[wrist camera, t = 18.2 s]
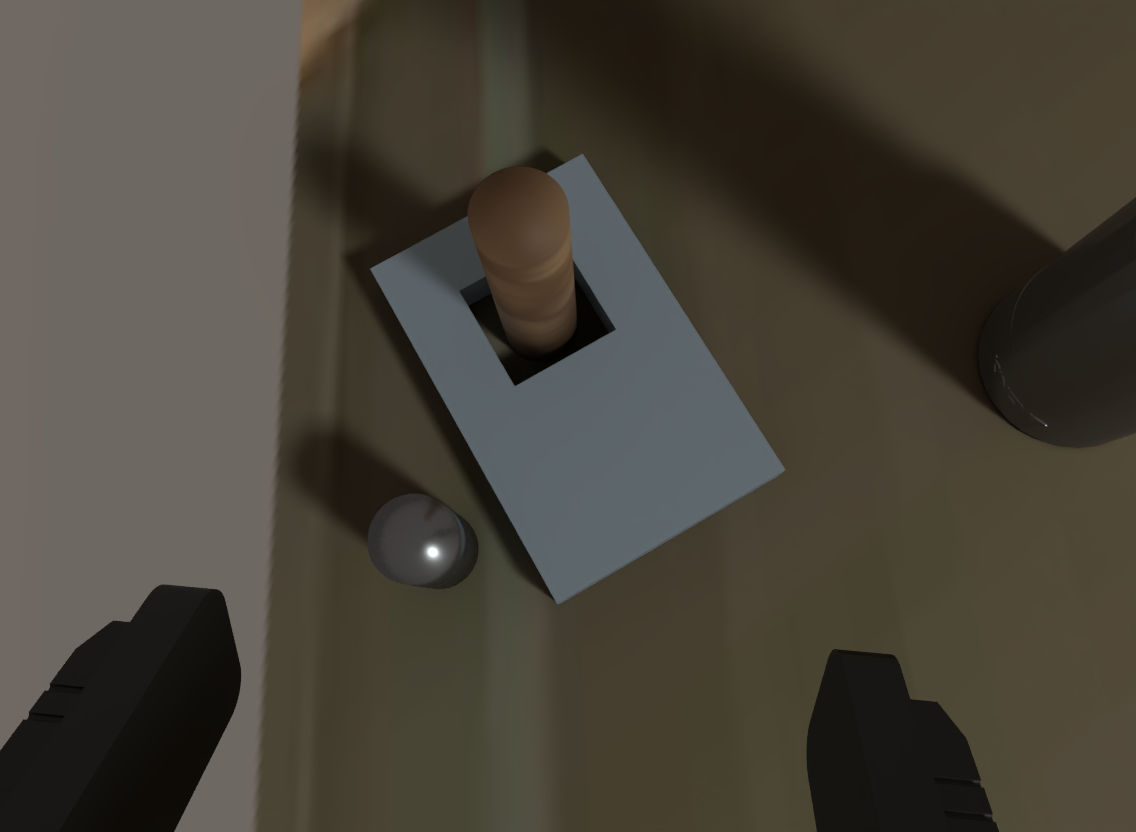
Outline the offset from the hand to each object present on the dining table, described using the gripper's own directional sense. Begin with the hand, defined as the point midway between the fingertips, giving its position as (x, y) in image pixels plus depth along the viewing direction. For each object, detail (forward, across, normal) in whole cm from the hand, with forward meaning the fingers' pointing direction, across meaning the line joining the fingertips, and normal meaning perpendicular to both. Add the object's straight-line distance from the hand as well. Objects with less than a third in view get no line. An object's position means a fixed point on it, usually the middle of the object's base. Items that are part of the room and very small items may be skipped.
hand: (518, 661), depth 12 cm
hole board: (+33, +1, +15) cm, 36 cm away
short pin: (+26, +7, +22) cm, 35 cm away
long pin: (+35, +3, +13) cm, 37 cm away
